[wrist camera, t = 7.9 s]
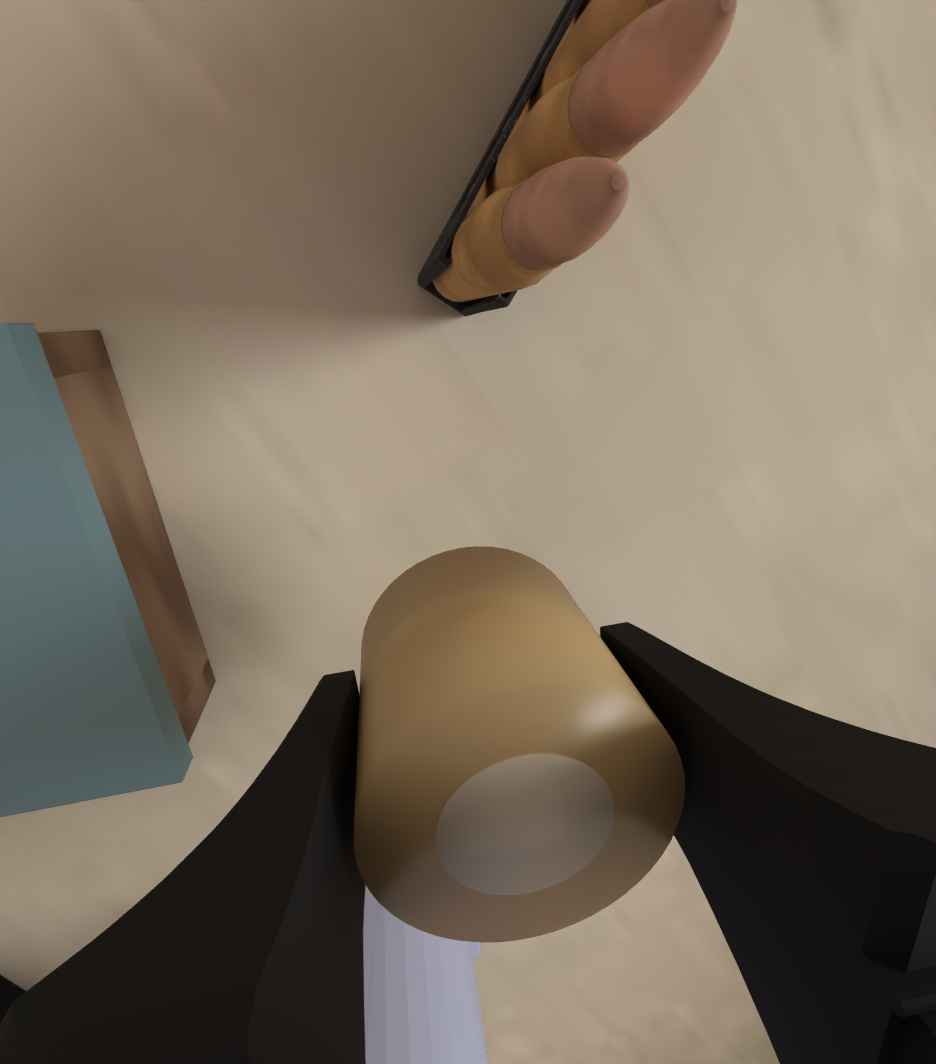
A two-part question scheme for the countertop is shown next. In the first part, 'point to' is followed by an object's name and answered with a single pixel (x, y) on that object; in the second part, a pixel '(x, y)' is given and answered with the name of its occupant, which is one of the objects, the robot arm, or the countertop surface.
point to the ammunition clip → (571, 143)
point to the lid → (67, 617)
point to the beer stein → (8, 995)
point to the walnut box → (131, 514)
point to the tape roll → (502, 754)
